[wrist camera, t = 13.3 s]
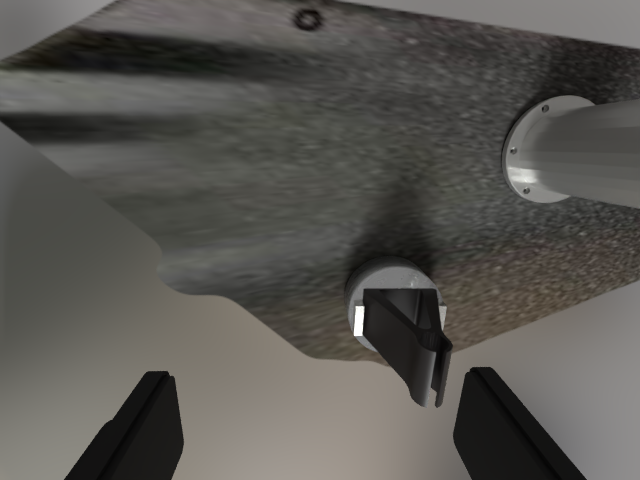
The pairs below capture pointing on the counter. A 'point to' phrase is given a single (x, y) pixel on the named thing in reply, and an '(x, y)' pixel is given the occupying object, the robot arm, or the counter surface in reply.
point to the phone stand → (409, 337)
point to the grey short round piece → (383, 276)
